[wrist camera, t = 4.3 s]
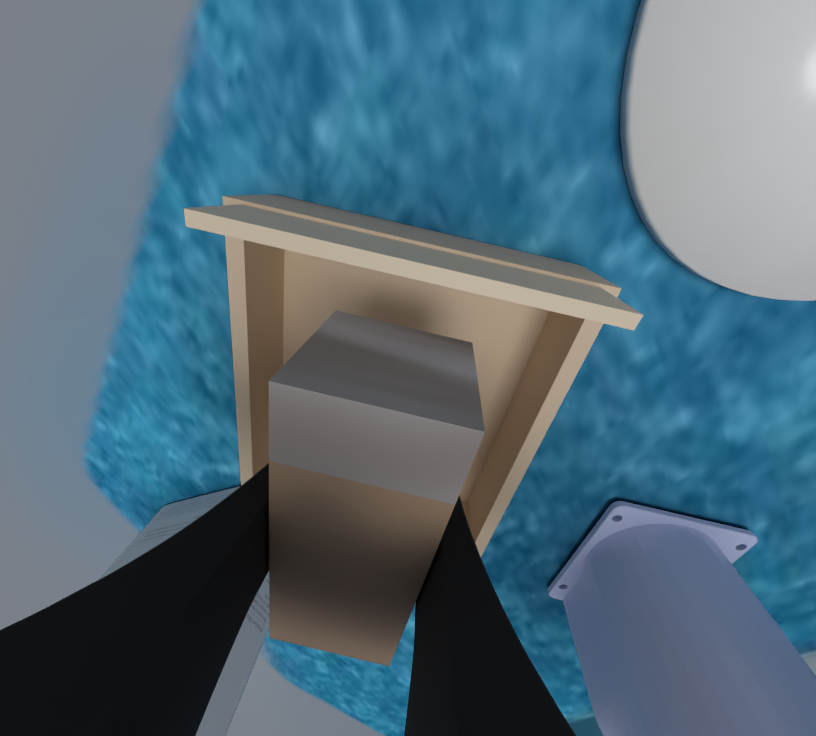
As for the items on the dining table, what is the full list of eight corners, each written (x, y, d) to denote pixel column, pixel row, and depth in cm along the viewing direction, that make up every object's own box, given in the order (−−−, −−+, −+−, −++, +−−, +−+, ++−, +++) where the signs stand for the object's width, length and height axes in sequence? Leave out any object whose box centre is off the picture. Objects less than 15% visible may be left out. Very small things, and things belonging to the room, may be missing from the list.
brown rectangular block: (404, 549, 14) (389, 666, 11) (313, 528, 14) (269, 637, 11) (472, 342, 9) (484, 431, 6) (336, 310, 10) (268, 380, 6)
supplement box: (162, 502, 23) (-101, 789, 12) (245, 482, 21) (23, 801, 10) (225, 566, 26) (60, 842, 15) (304, 552, 24) (181, 860, 13)
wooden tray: (473, 504, 20) (482, 617, 15) (274, 457, 20) (211, 554, 15) (581, 265, 13) (670, 317, 8) (276, 194, 13) (157, 197, 8)
